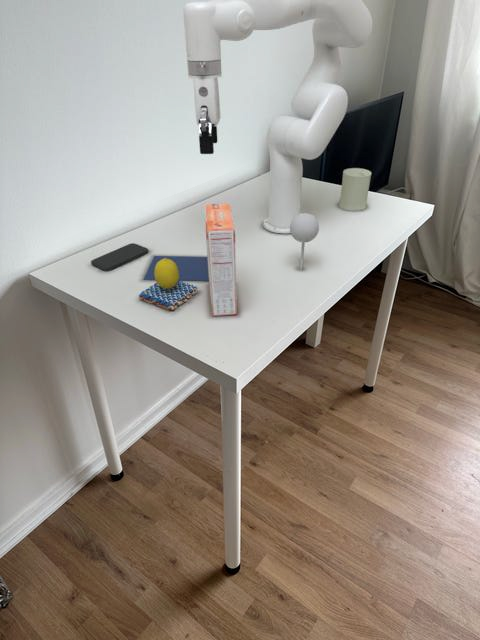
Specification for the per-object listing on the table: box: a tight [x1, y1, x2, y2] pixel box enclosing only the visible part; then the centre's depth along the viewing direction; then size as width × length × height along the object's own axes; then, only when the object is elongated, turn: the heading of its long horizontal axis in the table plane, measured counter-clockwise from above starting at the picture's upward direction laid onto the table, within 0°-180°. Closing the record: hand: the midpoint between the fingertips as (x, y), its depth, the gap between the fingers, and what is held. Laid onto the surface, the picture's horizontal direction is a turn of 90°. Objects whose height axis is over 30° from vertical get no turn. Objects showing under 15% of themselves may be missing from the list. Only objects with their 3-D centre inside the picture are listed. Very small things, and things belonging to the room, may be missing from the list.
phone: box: [90, 243, 149, 272], centre depth 123 cm, size 7×1×15 cm
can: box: [338, 167, 372, 212], centre depth 151 cm, size 9×9×12 cm
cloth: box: [142, 255, 209, 282], centre depth 118 cm, size 18×13×1 cm
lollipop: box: [290, 212, 320, 270], centre depth 113 cm, size 7×7×15 cm
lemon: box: [154, 258, 179, 289], centre depth 104 cm, size 6×6×8 cm
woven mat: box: [138, 281, 198, 311], centre depth 106 cm, size 10×11×2 cm
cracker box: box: [204, 203, 238, 317], centre depth 100 cm, size 14×6×21 cm, turn 5°
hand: (209, 148), depth 111 cm, fingers open, 9 cm apart
